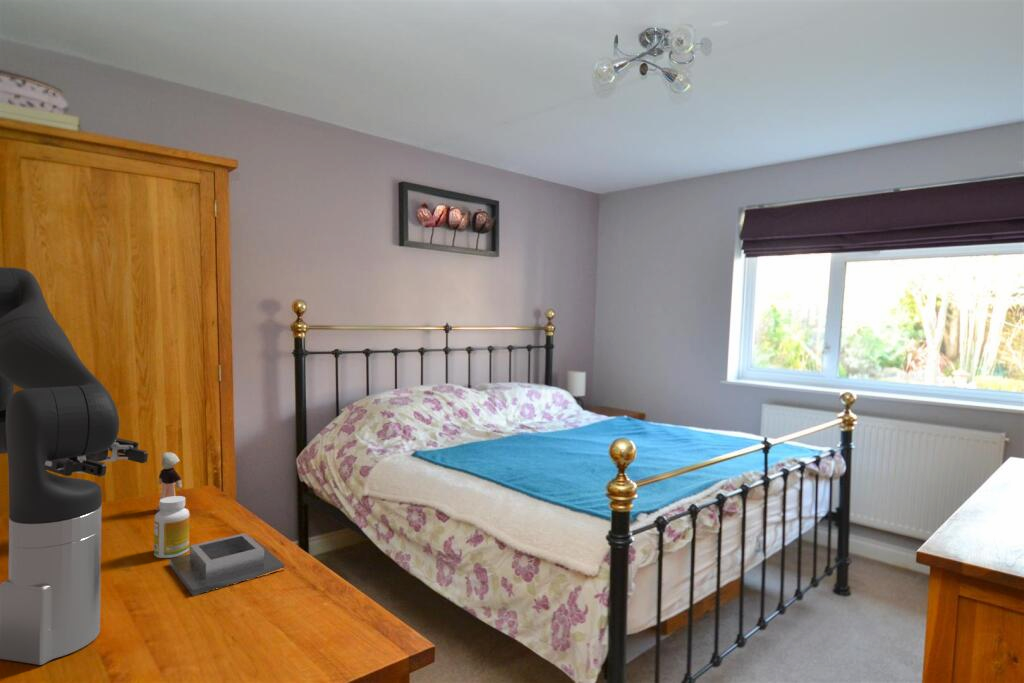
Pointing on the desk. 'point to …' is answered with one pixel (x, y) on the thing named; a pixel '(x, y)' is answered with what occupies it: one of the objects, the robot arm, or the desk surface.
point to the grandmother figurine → (169, 476)
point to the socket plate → (223, 563)
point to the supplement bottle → (171, 528)
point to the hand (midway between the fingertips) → (126, 463)
